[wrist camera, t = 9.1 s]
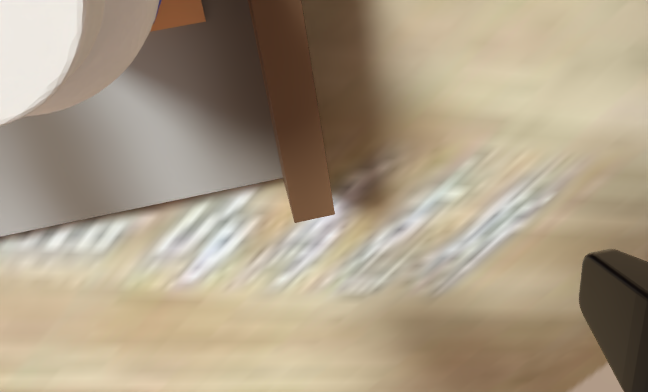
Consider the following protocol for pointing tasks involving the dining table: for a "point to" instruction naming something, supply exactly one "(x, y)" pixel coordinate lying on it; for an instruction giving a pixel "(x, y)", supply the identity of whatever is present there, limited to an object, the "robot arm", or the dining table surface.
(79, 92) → the pill bottle
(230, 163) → the corner arena
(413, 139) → the dining table surface
